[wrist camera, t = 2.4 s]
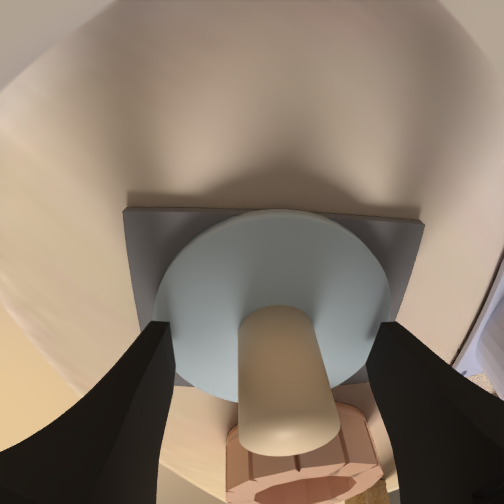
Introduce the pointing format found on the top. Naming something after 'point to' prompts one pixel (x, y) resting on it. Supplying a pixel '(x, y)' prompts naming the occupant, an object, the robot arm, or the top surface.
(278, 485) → the bowl
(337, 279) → the lid
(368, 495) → the sprinkles bottle
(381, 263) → the mat
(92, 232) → the top surface
